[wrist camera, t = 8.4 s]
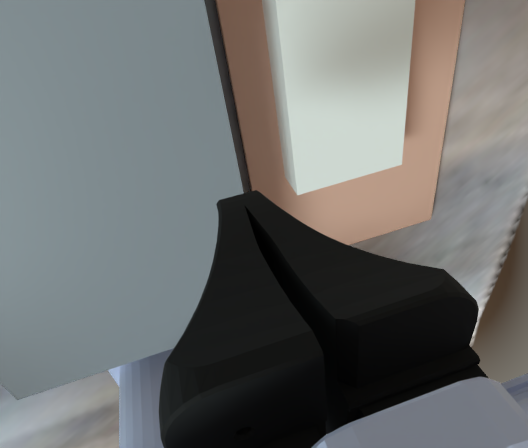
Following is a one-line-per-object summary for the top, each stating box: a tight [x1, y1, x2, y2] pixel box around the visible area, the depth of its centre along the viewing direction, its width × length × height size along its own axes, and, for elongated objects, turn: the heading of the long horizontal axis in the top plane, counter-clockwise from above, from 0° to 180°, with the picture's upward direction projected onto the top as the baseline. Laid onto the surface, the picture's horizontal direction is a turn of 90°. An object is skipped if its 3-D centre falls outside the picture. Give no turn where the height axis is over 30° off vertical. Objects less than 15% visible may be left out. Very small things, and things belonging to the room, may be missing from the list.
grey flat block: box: [0, 0, 244, 400], centre depth 16 cm, size 22×14×4 cm, turn 8°
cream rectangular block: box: [262, 0, 415, 195], centre depth 19 cm, size 9×6×2 cm, turn 9°
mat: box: [215, 0, 465, 245], centre depth 20 cm, size 22×12×1 cm, turn 8°
